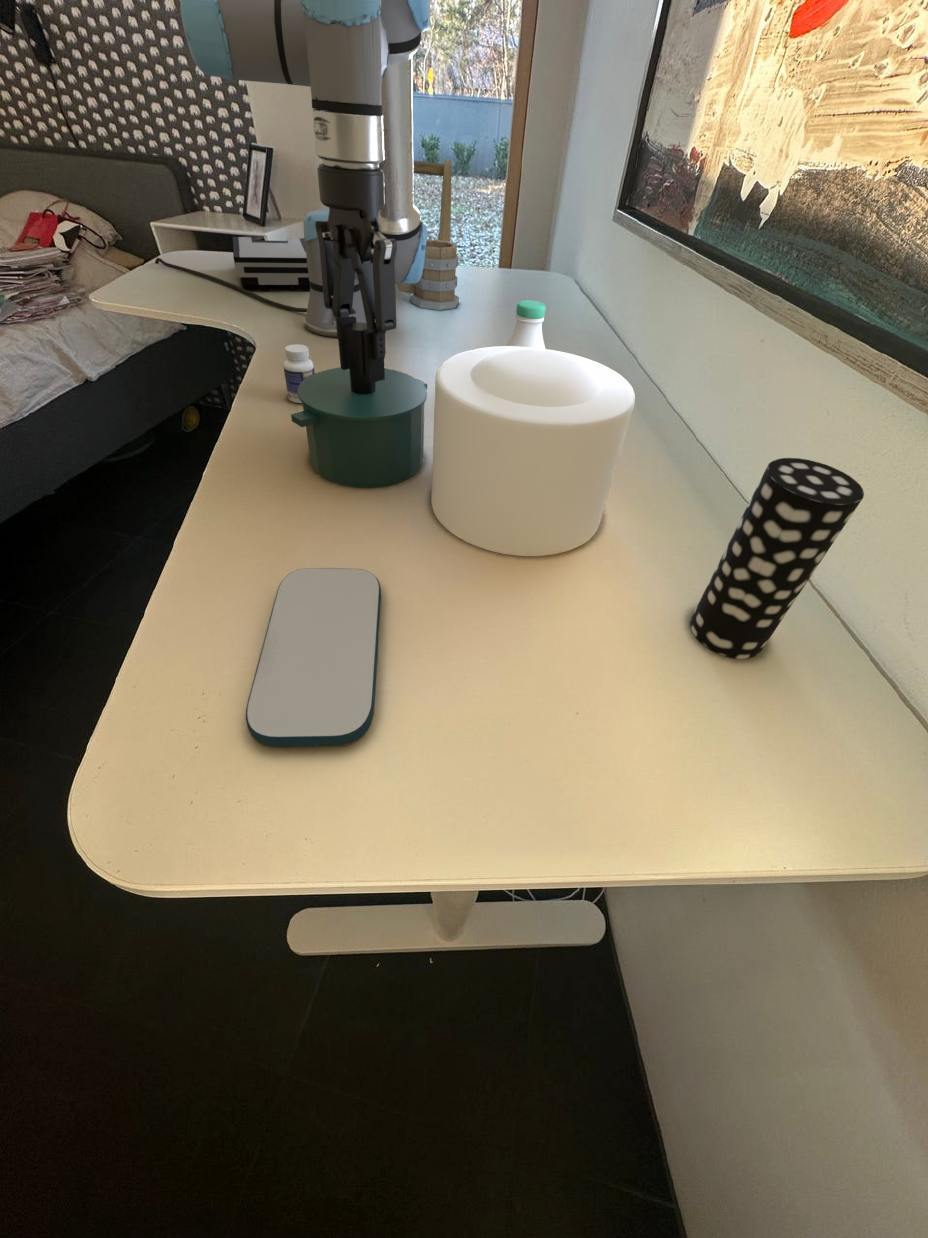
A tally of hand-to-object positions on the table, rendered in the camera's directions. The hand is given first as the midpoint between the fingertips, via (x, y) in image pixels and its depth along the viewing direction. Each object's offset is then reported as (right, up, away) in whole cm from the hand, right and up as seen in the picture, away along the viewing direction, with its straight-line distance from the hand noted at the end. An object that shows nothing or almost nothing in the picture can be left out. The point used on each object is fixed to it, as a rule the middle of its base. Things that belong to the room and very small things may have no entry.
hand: (362, 373), depth 78 cm
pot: (-1, -10, +9) cm, 13 cm away
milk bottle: (+24, 0, +22) cm, 33 cm away
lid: (0, -2, +2) cm, 3 cm away
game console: (-41, +65, +83) cm, 113 cm away
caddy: (-6, +71, +92) cm, 116 cm away
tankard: (+3, +54, +76) cm, 93 cm away
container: (+22, -18, +3) cm, 29 cm away
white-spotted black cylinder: (+45, -37, -14) cm, 60 cm away
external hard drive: (0, -39, -21) cm, 44 cm away
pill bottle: (-16, +6, +24) cm, 29 cm away
